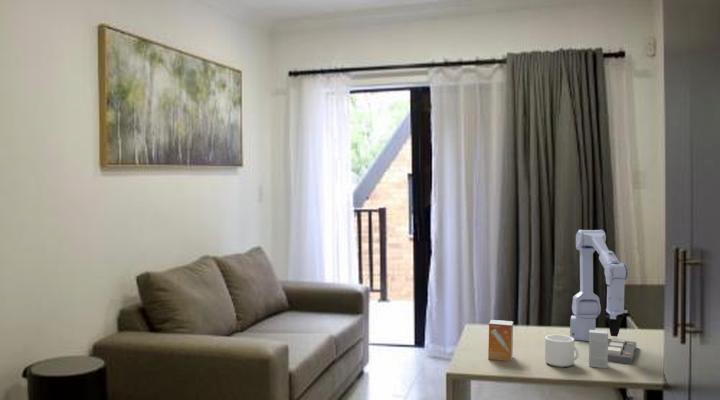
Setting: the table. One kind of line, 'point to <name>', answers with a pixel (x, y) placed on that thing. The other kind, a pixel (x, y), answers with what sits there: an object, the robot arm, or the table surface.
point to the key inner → (618, 340)
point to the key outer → (614, 350)
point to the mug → (560, 350)
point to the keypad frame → (623, 353)
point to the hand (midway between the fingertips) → (614, 335)
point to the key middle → (616, 345)
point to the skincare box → (598, 348)
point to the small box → (500, 340)
